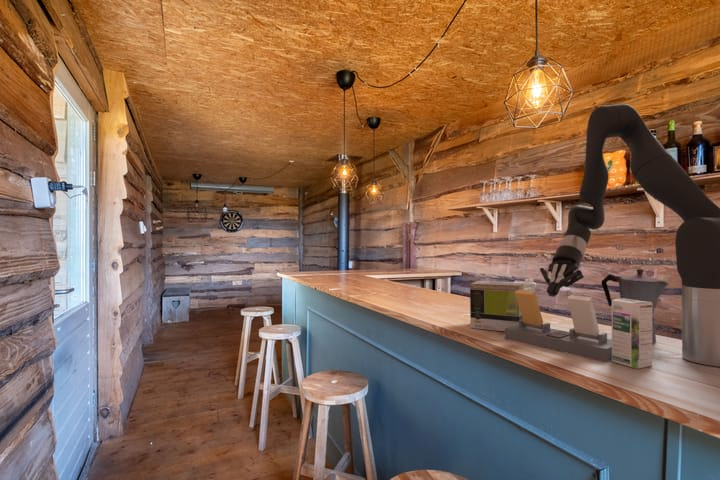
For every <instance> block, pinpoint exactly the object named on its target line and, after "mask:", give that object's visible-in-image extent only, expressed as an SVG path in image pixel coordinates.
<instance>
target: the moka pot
mask: <svg viewBox="0 0 720 480" xmlns="http://www.w3.org/2000/svg"><path fill="white" fill-rule="evenodd" d="M636 272H637V273H636V274H635V275H629V276H628V275H627V276H622V275H614V274H610V273H609V274H608V275H607V276H606V277H604V278H603V279H602V280H601V287H602V289H603V292H604V295H605V298H606V301H607V305H608V306H609V307H612V300H613V299H612V298H611V294H610V290H609V287H608V284H607V283H608V281H611V282H614V283H618V287H619V297H620V298H619V299H631V300H638V301H645V302H652V345H653V344H656V342H657V337H656V326H655V325H656V324H655V317H654V313H655V308H657V305H658V300H659V298H660V296H661V295H662V294H663V292H664V290H665V289H667V286H669V285H670V283H669V282H668V281H666V280H663V279H657V278H653V277H650V276H646V275H643V274H644V269H641V268H638V269H636Z"/></svg>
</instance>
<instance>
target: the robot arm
mask: <svg viewBox="0 0 720 480" xmlns="http://www.w3.org/2000/svg"><path fill="white" fill-rule="evenodd" d="M616 137H617V138H620V139H621V140H622V141H623V142H624V143H625V144H626V146H627V147H628V148H629V151H630V157H629V158H630V160H629V161H630V162H629V170H630V173H631V174H632V177H633V178H634V179H635V181H636V182H637V183H638V185H639V186H640V187H641V188H642V190H644V191H645V192H646V194H647V195H649V196H650V197H652V199H654V200H656V201H658V203H660V204H662V205H664V206H665V207H667V208H669V209H670V210H672V211H673V212H674V213H676V214H677V216H678V217H680V219H682V220H683V222H682V223H681V224H680V226H679V227H678V228H677V231H676V234H675V239H674V240H675V242H674V243H675V259H676V261H675V262H676V269H677V274H678V275H679V277H680V279H681V353H682V355H681V356H682V357H681V358H683V359H684V360H687V361H690V362H693V363H695V364H700V365H705V366H711V367H717V368H719V367H720V206H718V205H717V204H716V203H715V202H714V201H712V200H711V199H710V198H709V196H707V195H706V193H705V192H704V191H703V190H702V189H701V188H700V187H699V185H698V184H697V183H696V181H694V180H693V178H691V177H690V175H689V174H688V173H687V172H686V171H685V169H684V168H683V167H682V166H681V164H680V163H679V162H678V161H677V160H676V159H675V158H674V157H673V156H672V154H671V153H670V152H668V150H667V149H666V148H665V147H664V146H663V145H662V144H661V142H660V141H659V140H658V139H657V138H656V137H655V136H654V134H653V133H652V132H651V130H650V129H649V127H648V126H647V124H646V122H645V121H644V120H643V118H642V117H641V115H640V114H639V112H638V111H637V110H636V109H635V108H634V107H633V106H632V105H630V104H627V103H620V104H610V105H609V104H606V105H602V106H598V107H595V109H593V110H592V112H591V113H590V115H589V118H588V121H587V128H586V143H585V162H584V171H583V177H582V180H581V184H580V185H581V186H580V190H579V193H578V198H579V200H580V201H583V202H584V203H586V204H589V205H590V206H587V205H582V204H580V205H578V204H577V205H573V206H572V207H571V208H570V209H569V211H568V216H567V229H566V232H565V233H564V236H563V238H562V239H561V241H560V242H559V244H558V246H557V248H556V250H555V252H554V254H553V257H552V260H551V263H549V264H548V267H545V268H544V267H540V268H539V272H540V273H541V275H542V277H543V279H544V281H545V282H546V285H547V286H548V287H547V289H546V292H547V294H548V296H549V297H552V298H553V297H556V296H557V295H558V294H559V292H560V290H561V288H563V287H566V288H568V287H571V286H572V285H573V284H575V283H577V282H578V281H580V280H582V279H583V278H584V274H583V272H582V270H580V269H579V267H580V265H581V262H582V259H583V257H584V256H585V253H586V249H587V246H588V243H589V242H590V241H589V240H590V239H591V235H592V232H591V230H599V229H601V228H602V226H603V225H604V224H605V223H604V222H605V208H604V201H605V195H606V191H607V187H608V183H609V180H610V179H609V178H610V177H609V176H610V173H609V169H608V166H607V163H606V161H605V158H604V157H605V156H604V147H605V143H606V140H607V139H609V138H616ZM549 275H550V278H549Z"/></svg>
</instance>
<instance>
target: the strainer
mask: <svg viewBox="0 0 720 480" xmlns="http://www.w3.org/2000/svg"><path fill="white" fill-rule="evenodd" d="M518 282H519V283H523V284H524V291H533V292H535V293H536V289H535V288H536V287H537V282H534V278H525V279H524V281H518Z"/></svg>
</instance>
